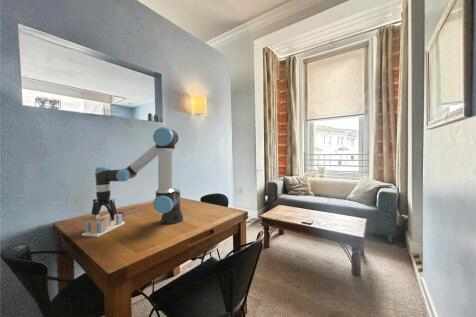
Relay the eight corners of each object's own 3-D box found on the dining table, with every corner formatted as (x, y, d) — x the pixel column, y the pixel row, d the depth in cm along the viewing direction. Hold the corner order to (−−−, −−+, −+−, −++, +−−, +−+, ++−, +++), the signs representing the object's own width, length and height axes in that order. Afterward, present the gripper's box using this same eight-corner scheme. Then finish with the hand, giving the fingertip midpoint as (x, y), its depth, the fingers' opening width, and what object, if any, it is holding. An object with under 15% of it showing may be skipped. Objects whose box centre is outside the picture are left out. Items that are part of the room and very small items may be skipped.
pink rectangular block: (116, 222, 139) (116, 212, 139) (97, 232, 121) (96, 221, 121) (111, 222, 139) (110, 212, 139) (90, 232, 121) (90, 221, 121)
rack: (124, 223, 140) (124, 213, 140) (97, 236, 118) (97, 224, 118) (111, 222, 142) (110, 212, 142) (81, 235, 120) (81, 223, 120)
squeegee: (133, 207, 177) (141, 208, 173) (133, 209, 178) (141, 210, 173) (99, 217, 152) (106, 219, 147) (99, 219, 152) (107, 221, 147)
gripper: (122, 189, 131) (124, 223, 132) (93, 189, 135) (95, 222, 136) (113, 192, 124) (115, 228, 124) (83, 191, 127) (84, 226, 128)
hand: (104, 225), depth 130 cm, fingers open, 9 cm apart
